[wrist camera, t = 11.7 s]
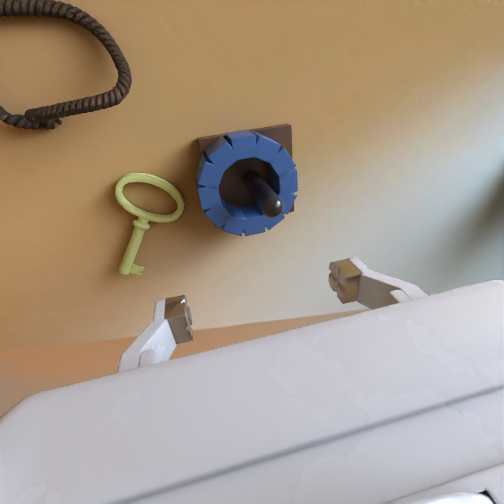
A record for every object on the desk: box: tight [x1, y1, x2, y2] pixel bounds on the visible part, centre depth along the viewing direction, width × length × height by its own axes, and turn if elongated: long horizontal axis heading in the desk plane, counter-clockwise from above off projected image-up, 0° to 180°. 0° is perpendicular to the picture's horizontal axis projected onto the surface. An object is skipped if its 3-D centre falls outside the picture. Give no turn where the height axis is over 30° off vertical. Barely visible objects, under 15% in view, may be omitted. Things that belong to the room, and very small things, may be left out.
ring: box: [196, 130, 298, 236], centre depth 30 cm, size 10×10×4 cm
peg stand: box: [197, 124, 294, 227], centre depth 28 cm, size 10×10×11 cm
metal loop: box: [0, 0, 132, 130], centre depth 22 cm, size 13×5×10 cm
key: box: [115, 173, 184, 276], centre depth 32 cm, size 7×12×2 cm, turn 170°
